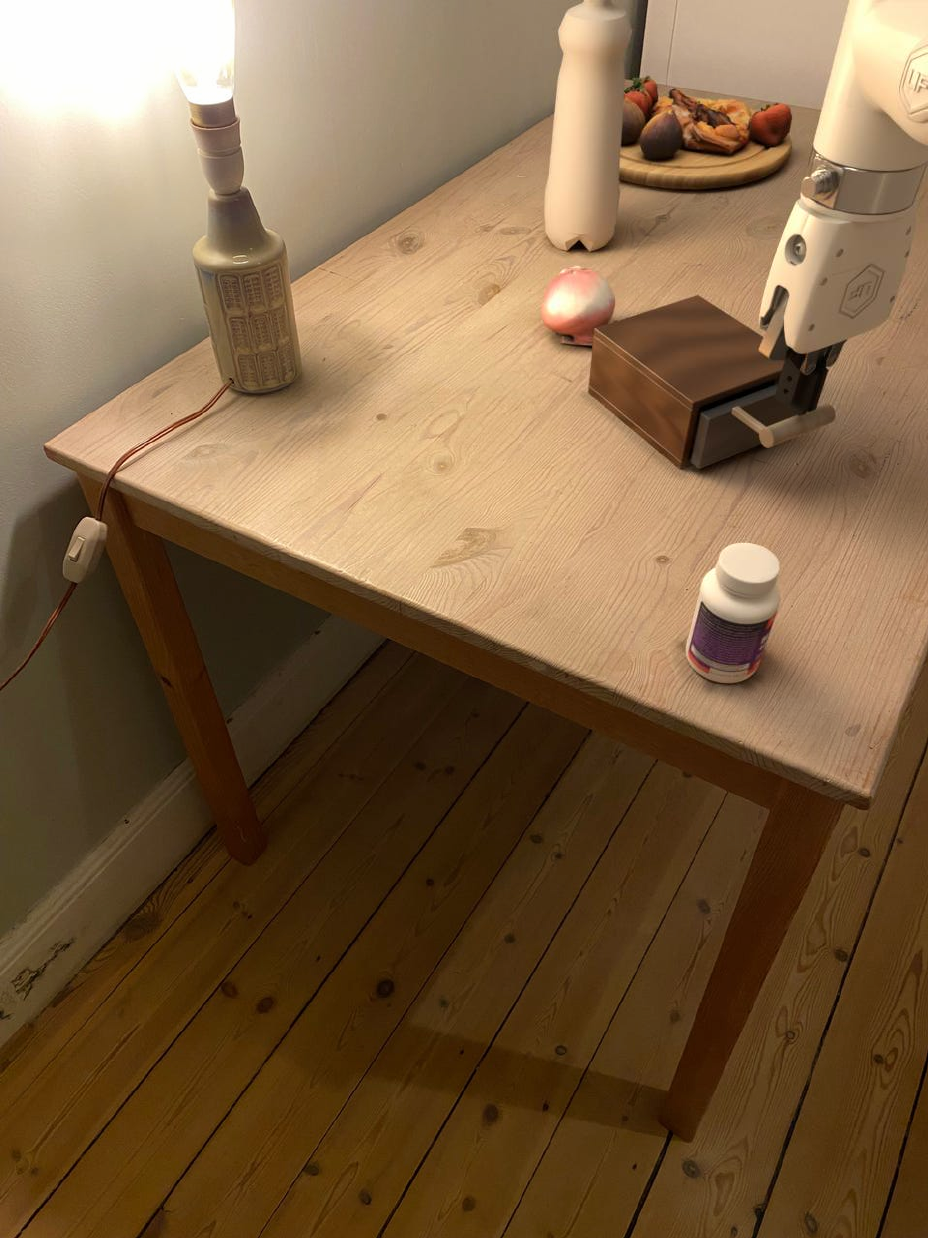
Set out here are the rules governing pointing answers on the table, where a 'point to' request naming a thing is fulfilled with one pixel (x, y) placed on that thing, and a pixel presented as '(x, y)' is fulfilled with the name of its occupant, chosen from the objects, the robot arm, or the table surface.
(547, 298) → the onion
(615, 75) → the bottle
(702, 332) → the cabinet
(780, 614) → the table surface
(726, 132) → the wooden plate
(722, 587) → the pill bottle
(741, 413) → the drawer
